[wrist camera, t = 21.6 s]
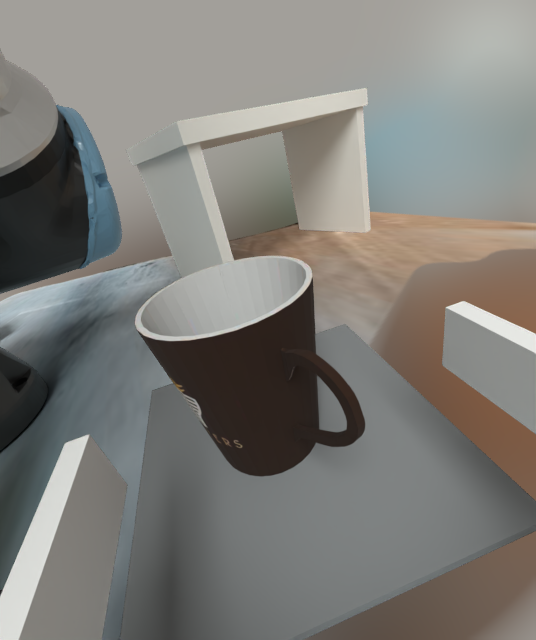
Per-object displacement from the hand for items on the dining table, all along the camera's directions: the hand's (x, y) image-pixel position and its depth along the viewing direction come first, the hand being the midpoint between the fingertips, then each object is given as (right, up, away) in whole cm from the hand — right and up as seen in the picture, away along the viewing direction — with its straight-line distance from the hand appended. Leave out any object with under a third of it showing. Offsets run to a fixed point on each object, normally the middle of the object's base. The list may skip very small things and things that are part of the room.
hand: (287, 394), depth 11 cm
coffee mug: (0, -5, +7) cm, 9 cm away
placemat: (0, -5, +8) cm, 10 cm away
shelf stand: (+1, +14, +41) cm, 43 cm away
